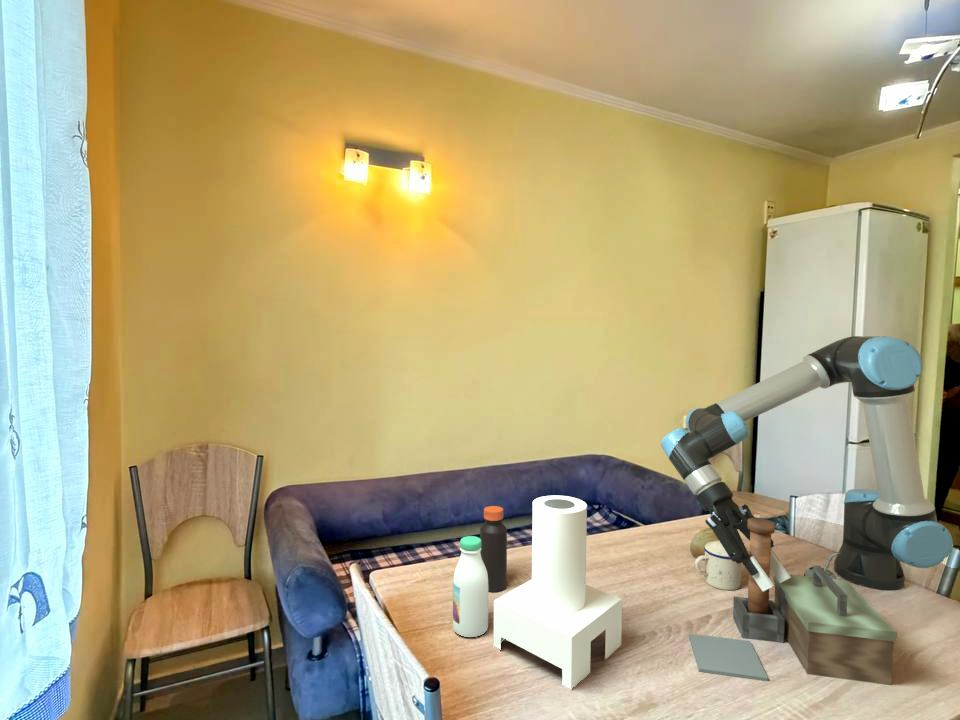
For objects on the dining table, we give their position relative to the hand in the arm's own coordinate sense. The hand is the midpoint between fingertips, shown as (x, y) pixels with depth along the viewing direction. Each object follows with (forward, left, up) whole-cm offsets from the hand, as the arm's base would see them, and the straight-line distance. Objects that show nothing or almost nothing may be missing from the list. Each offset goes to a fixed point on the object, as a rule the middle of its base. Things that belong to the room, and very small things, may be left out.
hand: (776, 584), depth 112 cm
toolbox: (-5, +2, -11) cm, 13 cm away
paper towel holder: (+45, +14, -12) cm, 49 cm away
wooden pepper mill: (+3, -2, -11) cm, 12 cm away
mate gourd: (-15, -17, -12) cm, 26 cm away
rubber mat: (+12, +10, -11) cm, 19 cm away
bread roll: (+4, -40, -12) cm, 42 cm away
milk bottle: (+64, +12, -12) cm, 66 cm away
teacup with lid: (+7, -23, -12) cm, 27 cm away
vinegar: (+63, -8, -12) cm, 65 cm away
